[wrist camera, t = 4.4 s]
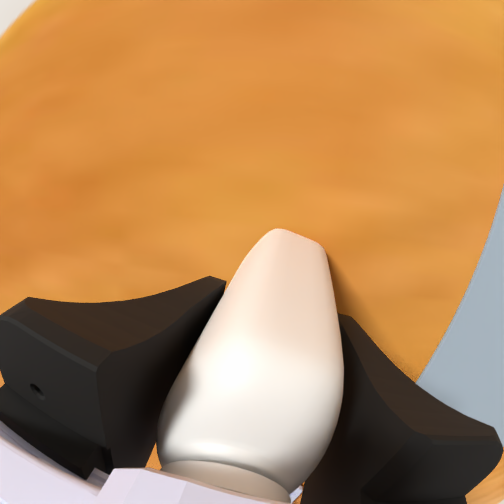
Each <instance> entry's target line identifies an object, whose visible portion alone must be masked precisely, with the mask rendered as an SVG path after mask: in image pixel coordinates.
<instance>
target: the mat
mask: <svg viewBox="0 0 504 504" xmlns="http://www.w3.org/2000/svg"><path fill="white" fill-rule="evenodd" d="M416 384H417V385H418V386H420V387H421V388H422V389H424V390H425V391H426V392H428V393H429V394H431V395H432V396H434V397H435V398H436V399H438V400H440V401H441V402H443V403H444V404H446V405H448V406H449V407H451V408H453V409H455V410H457V411H459V412H461V413H462V414H464V415H466V416H468V417H471V418H473V419H475V420H478V421H480V422H483V423H485V424H487V425H490V426H492V427H494V428H495V430H496V432H497V434H498V436H499V438H500V441H501V443H502V445H503V447H504V185H503V189H502V193H501V197H500V200H499V204H498V207H497V210H496V214H495V217H494V220H493V223H492V226H491V229H490V232H489V235H488V238H487V241H486V243H485V246H484V249H483V251H482V254H481V257H480V259H479V262H478V264H477V267H476V269H475V272H474V274H473V276H472V279H471V281H470V283H469V285H468V288H467V290H466V292H465V294H464V296H463V299H462V301H461V303H460V305H459V307H458V309H457V311H456V313H455V315H454V317H453V319H452V321H451V323H450V325H449V327H448V329H447V331H446V332H445V334H444V336H443V338H442V340H441V342H440V343H439V345H438V347H437V349H436V350H435V352H434V354H433V355H432V357H431V359H430V361H429V362H428V364H427V365H426V367H425V369H424V370H423V372H422V374H421V375H420V377H419V378H418V380H417V381H416Z"/></svg>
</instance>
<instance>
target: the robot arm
mask: <svg viewBox="0 0 504 504" xmlns="http://www.w3.org/2000/svg"><path fill="white" fill-rule="evenodd" d="M225 286H226V281H224V280H221V279H218V278H215V277H212V276H208V277H205V278H202V279H199V280H197V281H194V282H192V283H189V284H186V285H183V286H181V287H178V288H175V289H172V290H169V291H165V292H162V293H159V294H155V295H152V296H147V297H143V298H138V299H132V300H125V301H115V302H102V303H74V302H60V301H52V300H45V299H38V298H32V297H27V298H26V299H24V300H23V301H21V302H19V303H18V304H16V305H15V306H13V307H12V308H10V309H9V310H7V311H6V312H4V313H3V314H1V315H0V371H1V374H2V377H3V379H4V382H5V384H4V385H3V386H2V387H1V388H0V504H291V503H292V502H293V501H294V500H295V499H296V498H297V497H298V496H299V495H300V494H301V493H302V491H303V493H302V498H301V502H300V504H467V502H466V498H465V495H466V494H467V493H468V492H470V491H471V490H472V489H473V488H474V487H475V486H477V485H478V484H479V483H480V482H481V481H482V480H483V479H484V478H486V477H487V476H488V475H489V474H490V473H491V472H492V470H493V469H494V468H495V467H496V466H497V464H498V462H499V461H500V459H501V457H502V454H503V445H502V443H501V441H500V438H499V436H498V434H497V432H496V430H495V428H494V427H492V426H490V425H487V424H485V423H483V422H480V421H478V420H475V419H473V418H471V417H468V416H466V415H464V414H462V413H461V412H459V411H457V410H455V409H453V408H451V407H449V406H448V405H446V404H444V403H443V402H441V401H440V400H438V399H436V398H435V397H434V396H432V395H431V394H429V393H428V392H426V391H425V390H424V389H422V388H421V387H420V386H418V385H417V384H416V383H414V382H413V381H412V380H411V379H410V378H409V377H407V376H406V375H405V374H404V373H403V372H402V371H401V370H400V369H398V368H397V367H396V366H395V365H394V364H393V363H392V362H391V361H390V360H389V358H388V357H387V356H386V355H385V354H384V353H383V352H382V351H381V350H380V349H379V348H378V347H377V345H376V344H375V343H374V342H373V341H372V340H371V338H370V337H369V336H368V335H367V334H366V333H365V331H364V330H363V329H362V328H361V327H360V326H359V324H358V323H357V322H356V321H355V320H354V319H353V318H352V317H350V316H346V315H342V314H339V313H337V315H338V321H339V328H340V335H341V343H342V353H343V363H344V383H343V398H342V404H341V409H340V414H339V418H338V422H337V425H336V428H335V431H334V434H333V436H332V439H331V442H330V444H329V446H328V448H327V450H326V452H325V454H324V456H323V457H322V459H321V460H320V462H319V464H318V465H317V467H316V468H315V469H314V471H313V472H312V473H311V474H310V476H309V477H308V478H307V479H306V480H305V484H304V489H303V487H302V486H301V485H300V486H299V487H298V488H297V489H296V490H295V491H294V492H292V493H291V494H290V498H291V503H285V502H279V501H274V500H269V499H264V498H259V497H255V496H250V495H246V494H242V493H238V492H234V491H230V490H227V489H223V488H219V487H216V486H213V485H209V484H206V483H203V482H200V481H197V480H194V479H191V478H187V477H183V476H179V475H175V474H171V473H167V472H163V471H160V470H156V469H153V468H145V466H146V464H147V461H148V459H149V457H150V455H151V452H152V450H153V448H154V445H155V443H156V435H157V426H158V421H159V416H160V413H161V410H162V407H163V404H164V402H165V400H166V397H167V395H168V393H169V391H170V389H171V387H172V385H173V383H174V381H175V379H176V378H177V376H178V374H179V372H180V370H181V369H182V367H183V365H184V363H185V362H186V360H187V358H188V356H189V354H190V353H191V351H192V349H193V347H194V346H195V344H196V342H197V340H198V338H199V337H200V335H201V333H202V331H203V330H204V328H205V326H206V324H207V323H208V321H209V319H210V317H211V316H212V314H213V312H214V310H215V308H216V307H217V305H218V303H219V301H220V300H221V298H222V296H223V294H224V290H225Z"/></svg>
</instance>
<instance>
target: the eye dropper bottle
mask: <svg viewBox="0 0 504 504" xmlns="http://www.w3.org/2000/svg"><path fill="white" fill-rule="evenodd" d="M343 383H344V363H343V353H342V343H341V335H340V328H339V321H338V315H337V309H336V303H335V297H334V291H333V286H332V280H331V275H330V270H329V265H328V260H327V256H326V253H325V250H324V248H323V247H322V246H321V245H320V244H318V243H317V242H315V241H312V240H310V239H308V238H305V237H303V236H301V235H298V234H296V233H293V232H291V231H288V230H285V229H277V228H276V229H274V230H271V231H269V232H268V233H267V234H266V235H264V236H263V237H262V238H261V239H260V240H259V241H258V242H257V243H256V244H255V246H254V247H253V248H252V249H251V250H250V252H249V253H248V254H247V256H246V257H245V259H244V260H243V262H242V263H241V265H240V266H239V268H238V270H237V272H236V273H235V275H234V277H233V279H232V280H231V282H230V284H229V286H228V287H227V289H226V291H225V293H224V294H223V296H222V298H221V300H220V301H219V303H218V305H217V307H216V308H215V310H214V312H213V314H212V316H211V317H210V319H209V321H208V323H207V324H206V326H205V328H204V330H203V331H202V333H201V335H200V337H199V338H198V340H197V342H196V344H195V346H194V347H193V349H192V351H191V353H190V354H189V356H188V358H187V360H186V362H185V363H184V365H183V367H182V369H181V370H180V372H179V374H178V376H177V378H176V379H175V381H174V383H173V385H172V387H171V389H170V391H169V393H168V395H167V397H166V400H165V402H164V404H163V407H162V410H161V413H160V416H159V421H158V426H157V435H156V445H157V454H158V458H159V461H160V464H161V466H162V468H161V469H160V471H163V472H167V473H171V474H175V475H179V476H183V477H187V478H191V479H194V480H197V481H200V482H203V483H206V484H209V485H213V486H216V487H219V488H223V489H227V490H230V491H234V492H238V493H242V494H246V495H250V496H255V497H259V498H264V499H269V500H274V501H279V502H285V503H291V498H290V494H291V493H292V492H294V491H295V490H296V489H297V488H298V487H299V486H300V485H301V484H302V483H303V482H304V481H305V480H306V479H307V478H308V477H309V476H310V474H311V473H312V472H313V471H314V469H315V468H316V467H317V465H318V464H319V462H320V460H321V459H322V457H323V456H324V454H325V452H326V450H327V448H328V446H329V444H330V442H331V439H332V436H333V434H334V431H335V428H336V425H337V422H338V418H339V414H340V409H341V404H342V398H343Z"/></svg>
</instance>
